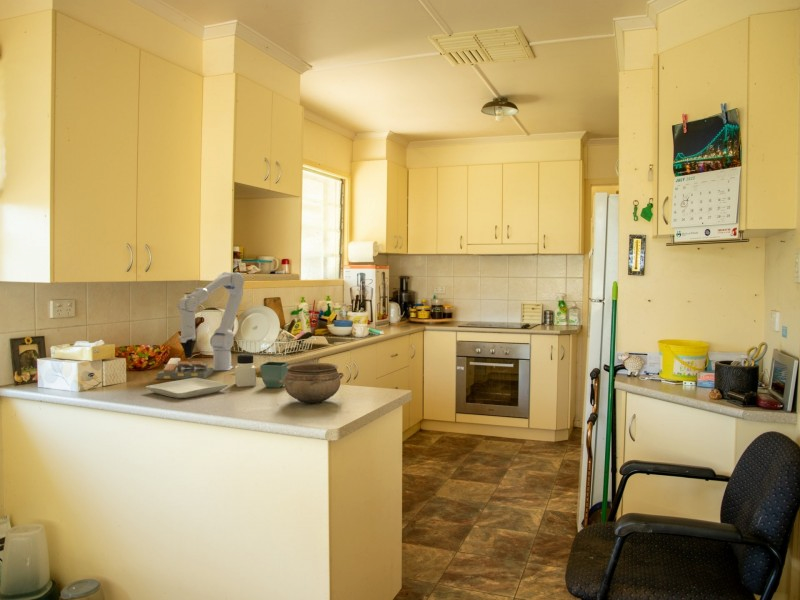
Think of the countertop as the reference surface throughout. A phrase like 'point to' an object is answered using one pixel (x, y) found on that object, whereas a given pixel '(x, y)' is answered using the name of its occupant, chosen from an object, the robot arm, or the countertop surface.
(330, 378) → the cooking pot
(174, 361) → the left rocker
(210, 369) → the switch unit
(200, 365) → the right rocker
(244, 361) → the medicine bottle
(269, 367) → the flower pot
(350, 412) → the countertop surface
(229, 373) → the countertop surface
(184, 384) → the salad plate
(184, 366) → the middle rocker
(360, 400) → the countertop surface
